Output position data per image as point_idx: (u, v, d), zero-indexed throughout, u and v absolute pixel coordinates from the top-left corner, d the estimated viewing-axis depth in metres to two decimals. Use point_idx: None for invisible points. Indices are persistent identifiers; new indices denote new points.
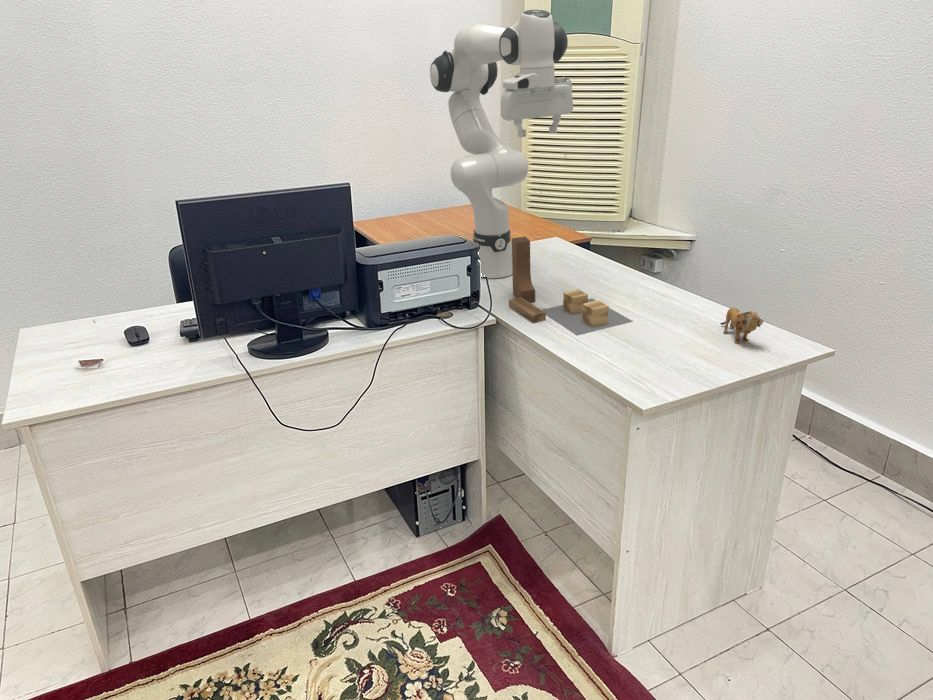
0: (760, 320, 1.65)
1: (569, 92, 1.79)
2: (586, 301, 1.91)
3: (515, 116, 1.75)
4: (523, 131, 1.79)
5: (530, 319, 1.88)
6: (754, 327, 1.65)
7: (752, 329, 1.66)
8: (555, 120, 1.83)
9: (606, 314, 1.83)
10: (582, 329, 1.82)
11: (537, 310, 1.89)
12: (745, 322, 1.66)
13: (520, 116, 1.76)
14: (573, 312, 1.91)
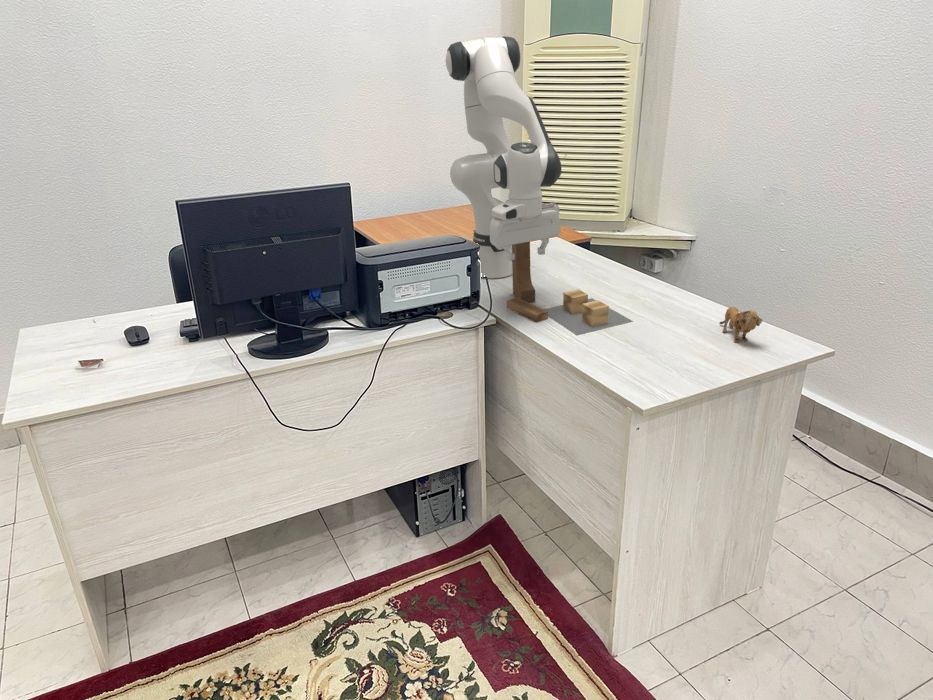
0: (759, 319, 1.66)
1: (557, 217, 1.83)
2: (586, 301, 1.91)
3: (503, 243, 1.80)
4: (512, 255, 1.83)
5: (533, 319, 1.88)
6: (753, 326, 1.66)
7: (751, 328, 1.66)
8: (543, 242, 1.87)
9: (606, 314, 1.83)
10: (582, 329, 1.82)
11: (539, 309, 1.90)
12: (744, 322, 1.66)
13: (509, 243, 1.80)
14: (573, 312, 1.91)
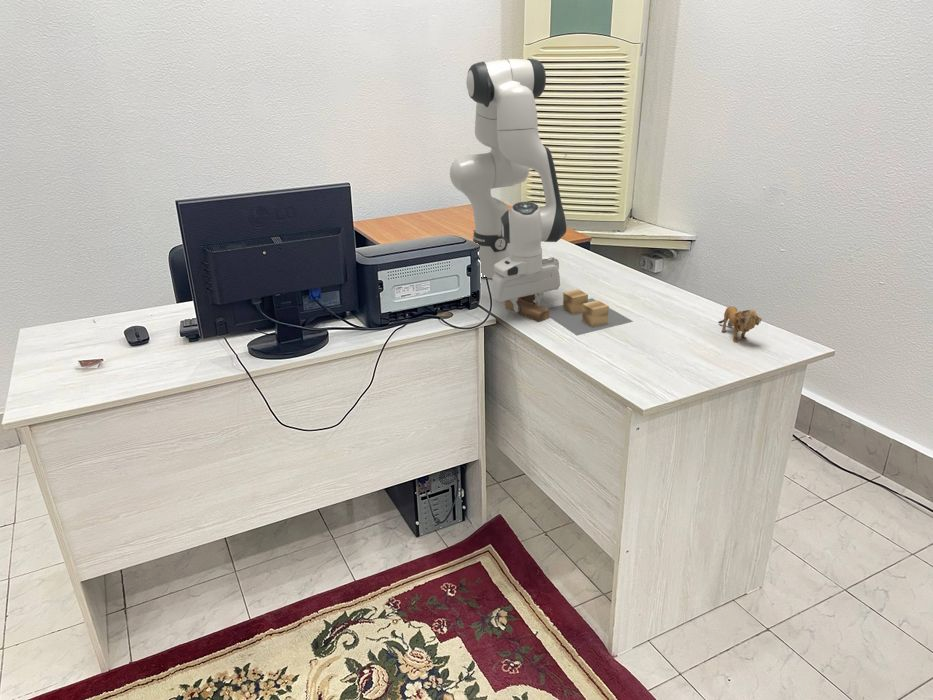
0: (758, 318, 1.66)
1: (556, 271, 1.90)
2: (586, 301, 1.91)
3: (505, 298, 1.87)
4: (518, 307, 1.91)
5: (535, 318, 1.88)
6: (752, 325, 1.66)
7: (750, 327, 1.66)
8: (538, 296, 1.93)
9: (606, 314, 1.83)
10: (582, 329, 1.82)
11: (540, 308, 1.90)
12: (743, 321, 1.67)
13: (510, 297, 1.87)
14: (573, 312, 1.91)
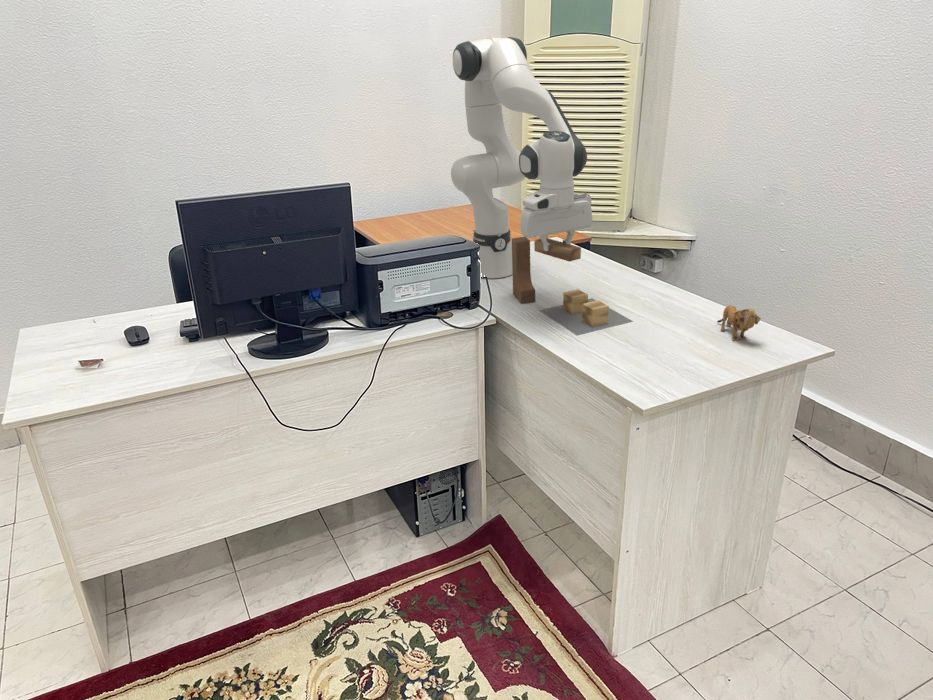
0: (757, 317, 1.67)
1: (588, 207, 1.80)
2: (586, 301, 1.91)
3: (535, 234, 1.76)
4: (548, 245, 1.80)
5: (565, 255, 1.78)
6: (752, 324, 1.66)
7: (750, 326, 1.67)
8: (569, 234, 1.83)
9: (606, 314, 1.83)
10: (582, 329, 1.82)
11: (571, 246, 1.79)
12: (742, 320, 1.67)
13: (540, 233, 1.77)
14: (573, 312, 1.91)
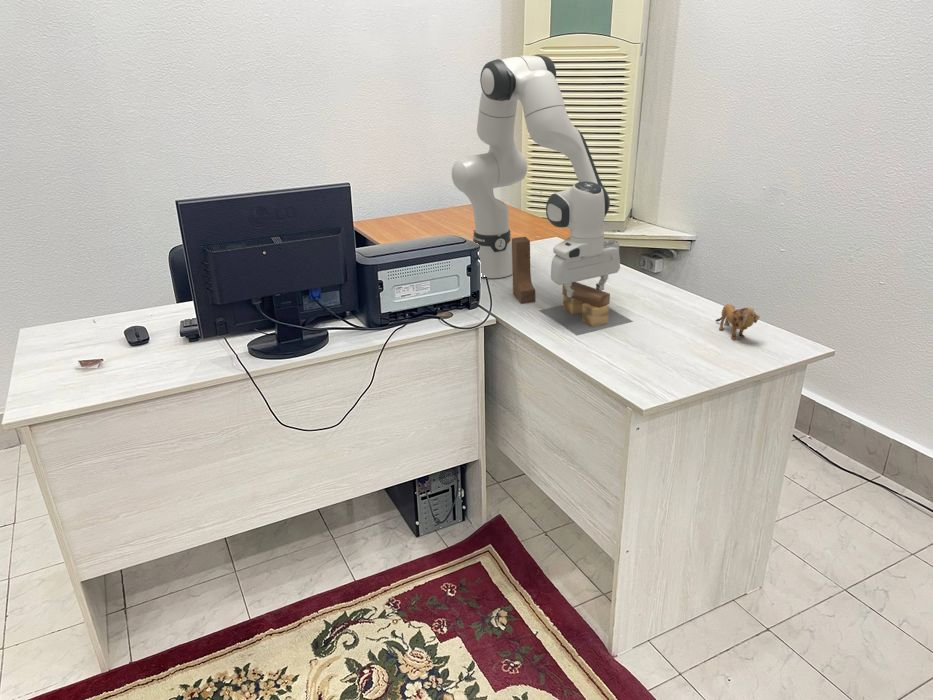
0: (756, 316, 1.68)
1: (617, 254, 1.84)
2: None
3: (565, 281, 1.80)
4: (572, 292, 1.84)
5: (595, 301, 1.82)
6: (751, 323, 1.67)
7: (749, 325, 1.68)
8: (602, 278, 1.88)
9: (606, 314, 1.83)
10: (582, 329, 1.82)
11: (600, 292, 1.83)
12: (741, 319, 1.68)
13: (570, 280, 1.81)
14: (573, 312, 1.91)
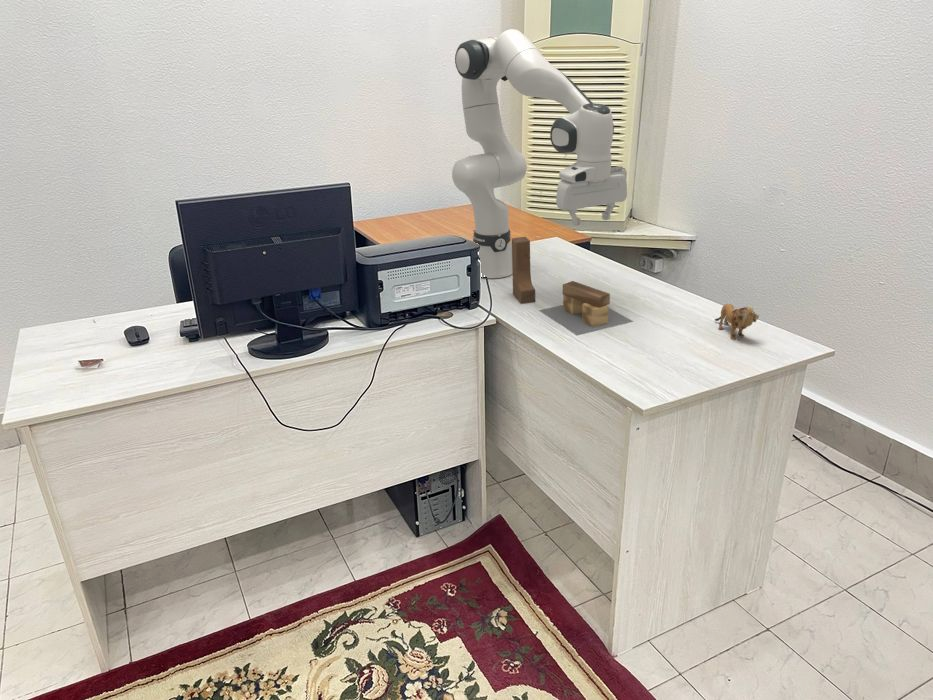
0: (756, 315, 1.68)
1: (624, 181, 1.80)
2: None
3: (571, 206, 1.77)
4: (577, 220, 1.80)
5: (595, 301, 1.82)
6: (750, 322, 1.68)
7: (748, 324, 1.68)
8: (609, 207, 1.84)
9: (606, 314, 1.83)
10: (582, 329, 1.82)
11: (600, 292, 1.83)
12: (741, 318, 1.68)
13: (576, 206, 1.77)
14: (573, 312, 1.91)
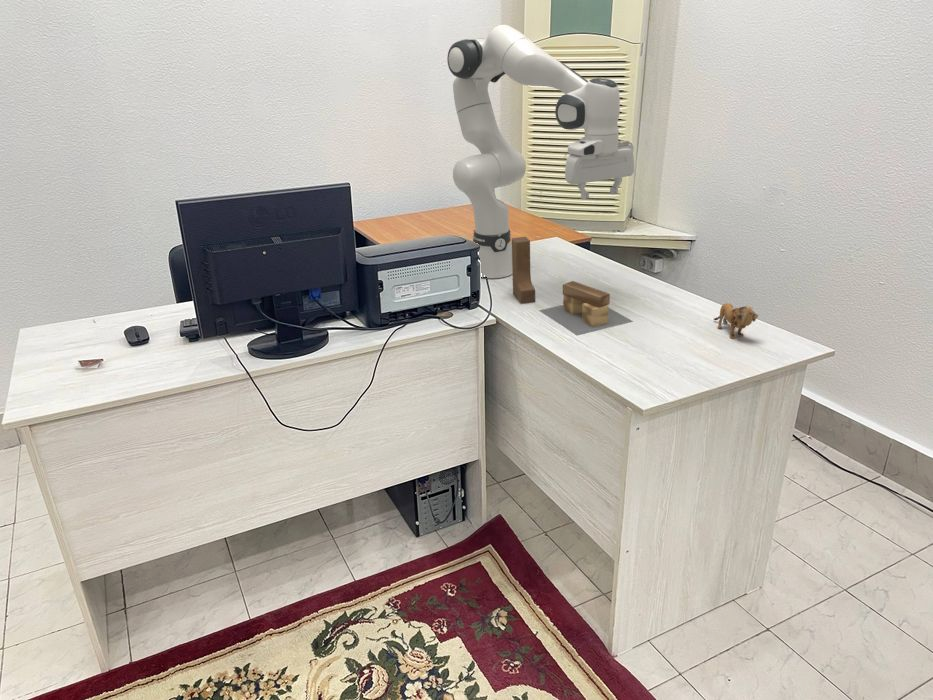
0: (755, 314, 1.69)
1: (631, 155, 1.83)
2: None
3: (580, 180, 1.80)
4: (586, 194, 1.83)
5: (595, 301, 1.82)
6: (749, 322, 1.68)
7: (747, 324, 1.69)
8: (616, 182, 1.87)
9: (606, 314, 1.83)
10: (582, 329, 1.82)
11: (600, 292, 1.83)
12: (740, 317, 1.69)
13: (584, 180, 1.80)
14: (573, 312, 1.91)
